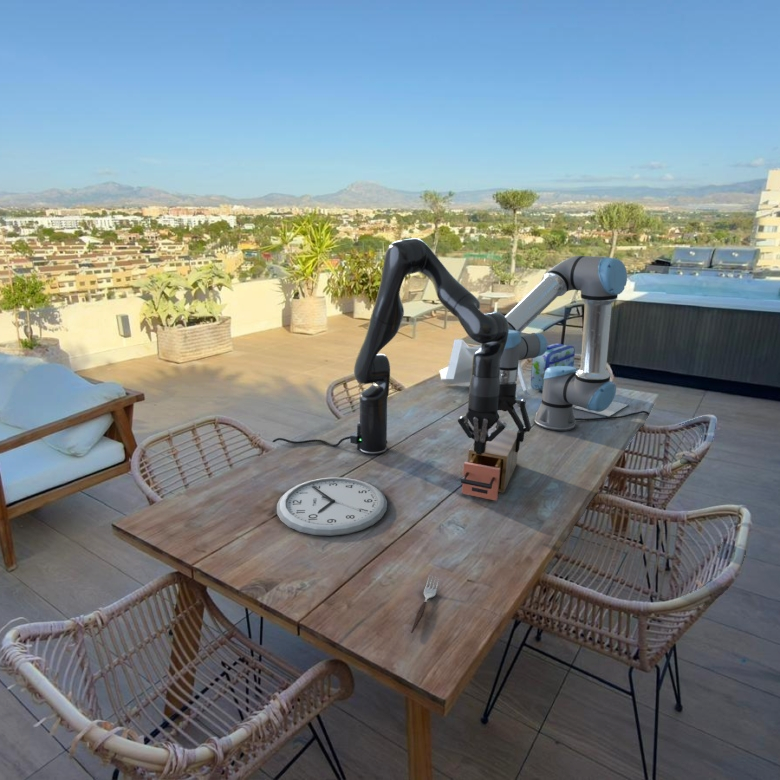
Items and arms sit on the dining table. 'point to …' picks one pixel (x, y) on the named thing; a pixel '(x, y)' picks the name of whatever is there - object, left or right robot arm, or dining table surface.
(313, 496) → the wall clock
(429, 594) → the fork
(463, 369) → the white plastic object
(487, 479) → the drawer
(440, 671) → the dining table surface
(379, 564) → the dining table surface
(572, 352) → the lunch box
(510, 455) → the cabinet
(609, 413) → the invitation card
